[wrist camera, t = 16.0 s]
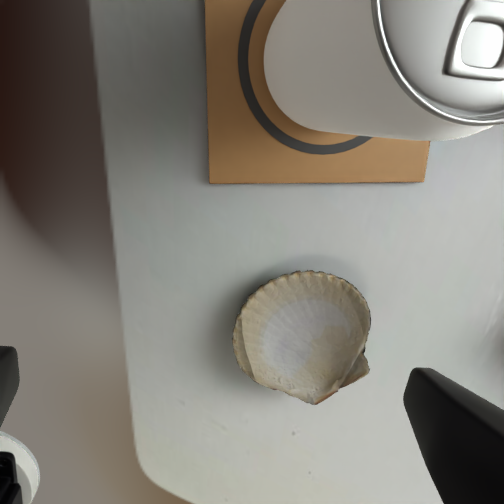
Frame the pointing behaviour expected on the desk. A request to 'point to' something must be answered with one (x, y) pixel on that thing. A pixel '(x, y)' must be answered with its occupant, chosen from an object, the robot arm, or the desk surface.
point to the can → (389, 66)
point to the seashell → (303, 335)
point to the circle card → (280, 117)
